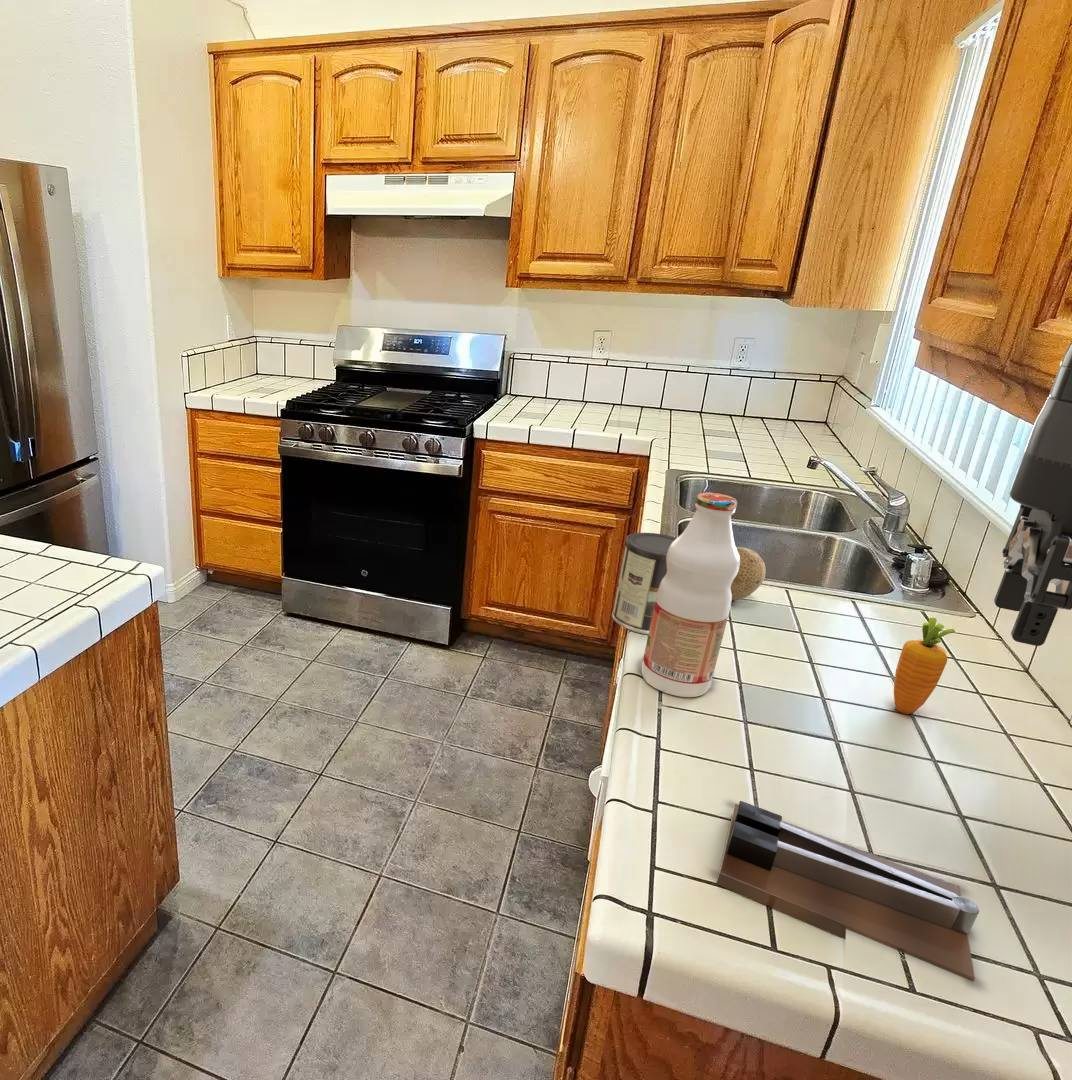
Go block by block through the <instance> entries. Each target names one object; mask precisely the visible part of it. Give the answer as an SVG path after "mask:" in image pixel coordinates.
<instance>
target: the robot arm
mask: <svg viewBox="0 0 1072 1080" xmlns="http://www.w3.org/2000/svg"><path fill="white" fill-rule="evenodd" d="M1009 497H1010V498H1011V499H1012V500H1013V501H1014V502H1015V503H1018V504H1019V510H1018V513H1017V515H1016V517H1015V521H1014V522H1013V526H1012V528H1011V530H1010V533H1009V536H1008V539H1007V541H1006V543H1005V546H1004V548H1003V549H1002V557H1003V558H1006V559H1004V561H1003V569H1004V572H1003V575H1002V578H1001V581H1000V583H999V585H998V588H997V591H996V594H995V596H994V599H993V602H994V605H995V606H996V608H1000V609H1004V610H1008V611H1013V612H1018V614H1017V617H1016V619H1015V622H1014V625H1013V627H1012V629H1011V632H1010V636H1011V638H1012V640H1013V641H1015V642H1016V643H1021V644H1025V645H1029V646H1033V647H1041V646H1043V645H1044V644H1045V642H1046V640H1047V638H1048V635H1049V633H1050V630H1051V628H1052V625H1053V623H1054V620H1055V618H1056V616H1057V613H1058V611H1059V610H1068V611H1071V610H1072V340H1071V341H1070V343H1069V344H1068V346H1067V348H1066V350H1065V352H1064V354H1063V356H1062V358H1061V361H1060V364H1059V366H1058V369H1057V372H1056V374H1055V377H1054V381H1053V383H1052V386H1051V389H1050V391H1049V393H1048V397H1047V399H1046V401H1045V403H1044V405H1043V407H1042V409H1041V411H1040V412H1039V414H1038V416H1037V418H1036V420H1035V422H1034V425H1033V426H1032V429H1031V432H1030V435H1029V437H1028V441H1027V443H1026V445H1025V449H1024V451H1023V454H1022V457H1021V460H1020V462H1019V466H1018V468H1017V470H1016V474H1015V476H1014V479H1013V482H1012V484H1011V488H1010V490H1009ZM1050 583H1051V584H1053V585H1055V591H1050V590H1048V588H1049V585H1050Z"/></svg>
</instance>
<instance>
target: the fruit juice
mask: <svg viewBox="0 0 1072 1080" xmlns="http://www.w3.org/2000/svg"><path fill="white" fill-rule="evenodd" d="M694 501H695V504H694V506H695V509H696V510H695V512H694V513H693V516H692V518H691V519H690V521H689V522H688V524H687V526H686V527H685V528H684V530H683V532H682V533H680V535H678V536H677V537H675V538H676V539H675V540H674V541H673V542H672V543H671V545H670V547H669V549H668V552H667V556H666V564H667V573H666V575H665V576H664V578H663V579H662V581H661V583H660V586H659V589H658V592H657V596H656V602H655V606H654V611H653V616H652V620H651V625H650V630H649V634H647V639H646V644H645V647H644V654H643V658H642V663H641V676H642V678H643V680H644V681H645V682H646V683H648V685H649V686H651V687H653V689H656V690H658V691H660V692H662V693H665V694H668V695H671V696H676V697H682V698H696V697H700V696H703V695H705V694H706V693H707V692H708V690H709V689H710V687H711V684H712V681H713V677H714V674H715V670H716V666H717V662H718V657H719V654H720V651H721V646H722V642H723V638H724V635H725V631H726V628H727V627H726V626H727V622H728V619H729V616H730V611H731V607H732V601H733V600H732V593H731V589H730V588H731V583H732V582H733V580H734V579H735V577H736V575H737V573H738V571H739V566H740V556H739V553H738V551H737V549H736V547H737V546H736V543H735V538H734V532H733V531H734V530H733V523H732V515H733V514H735V513H736V510H737V506H738V501H737V498H734V497H732V496H730V495H727V494H723V493H718V492H709V491H708V492H707V491H705V492H699V493H698V494H697V496H696V498H695V500H694Z"/></svg>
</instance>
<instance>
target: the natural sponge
mask: <svg viewBox="0 0 1072 1080" xmlns="http://www.w3.org/2000/svg"><path fill="white" fill-rule="evenodd" d="M736 549H737V551H738V553H739V556H740V566H739V571H738V573H737V575H736V577H735V579H734V580H733V582H732V583H731V588H730V589H731V593H732V601H740V600H743V599H746V598H747V597H749V596H751V595H752V594H754V592H756V590H758V589H759V588H760V587H761V585H762V584H763V582H764V580H765V578H766V571H767V569H766V563H765V562H764V560H763V558H762V557H761V556H760V555H759V554H758V553H757V552H756V551H755V550H753V549H750V548H747V547H740V546H738V547H737V546H736Z"/></svg>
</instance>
